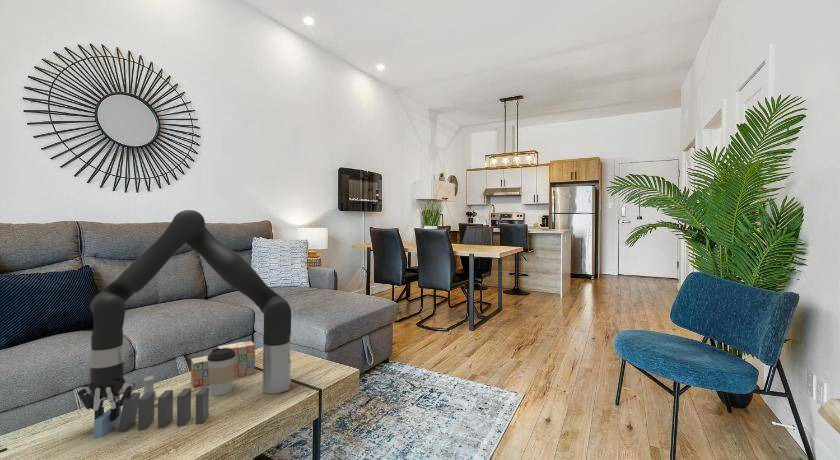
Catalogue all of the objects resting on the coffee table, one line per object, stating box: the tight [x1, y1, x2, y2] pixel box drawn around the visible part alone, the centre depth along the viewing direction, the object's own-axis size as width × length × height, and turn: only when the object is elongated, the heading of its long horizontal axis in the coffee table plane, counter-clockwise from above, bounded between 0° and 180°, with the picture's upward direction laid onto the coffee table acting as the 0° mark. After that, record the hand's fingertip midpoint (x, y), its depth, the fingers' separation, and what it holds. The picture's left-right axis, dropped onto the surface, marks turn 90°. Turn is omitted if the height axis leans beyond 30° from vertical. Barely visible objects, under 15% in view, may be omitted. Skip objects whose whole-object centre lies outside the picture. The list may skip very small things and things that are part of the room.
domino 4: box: [176, 388, 192, 427], centre depth 109 cm, size 2×5×9 cm, turn 14°
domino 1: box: [117, 392, 141, 433], centre depth 106 cm, size 2×5×9 cm, turn 14°
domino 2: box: [137, 390, 155, 431], centre depth 107 cm, size 2×5×9 cm, turn 14°
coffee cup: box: [207, 347, 236, 397], centre depth 129 cm, size 9×9×15 cm
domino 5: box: [195, 386, 210, 425], centre depth 110 cm, size 2×5×9 cm, turn 14°
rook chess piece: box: [140, 375, 158, 401], centre depth 122 cm, size 4×4×8 cm
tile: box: [93, 406, 122, 439], centre depth 105 cm, size 2×5×9 cm
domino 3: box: [157, 389, 174, 429], centre depth 108 cm, size 2×5×9 cm, turn 14°
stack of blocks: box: [190, 340, 256, 388], centre depth 140 cm, size 21×6×12 cm, turn 128°
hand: (107, 420), depth 104 cm, fingers open, 3 cm apart
